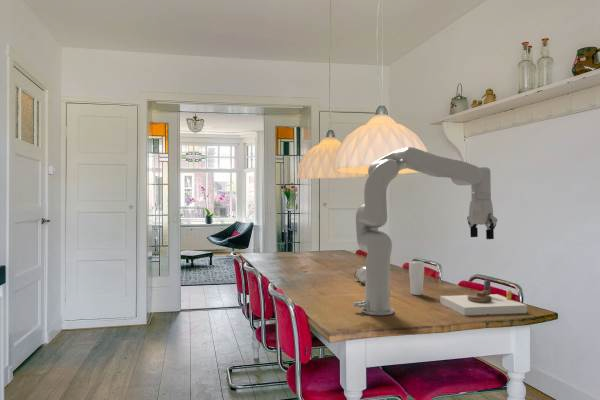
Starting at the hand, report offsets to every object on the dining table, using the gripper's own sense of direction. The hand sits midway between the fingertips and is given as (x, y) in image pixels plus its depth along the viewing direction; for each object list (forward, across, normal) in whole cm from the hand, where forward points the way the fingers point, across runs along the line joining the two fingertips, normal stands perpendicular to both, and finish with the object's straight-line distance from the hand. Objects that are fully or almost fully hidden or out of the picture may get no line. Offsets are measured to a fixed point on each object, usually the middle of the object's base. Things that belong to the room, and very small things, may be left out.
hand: (481, 238), depth 186 cm
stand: (+28, +4, -4) cm, 29 cm away
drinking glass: (+28, -26, -16) cm, 41 cm away
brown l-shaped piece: (+25, +3, -3) cm, 25 cm away
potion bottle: (+28, -58, -27) cm, 70 cm away
